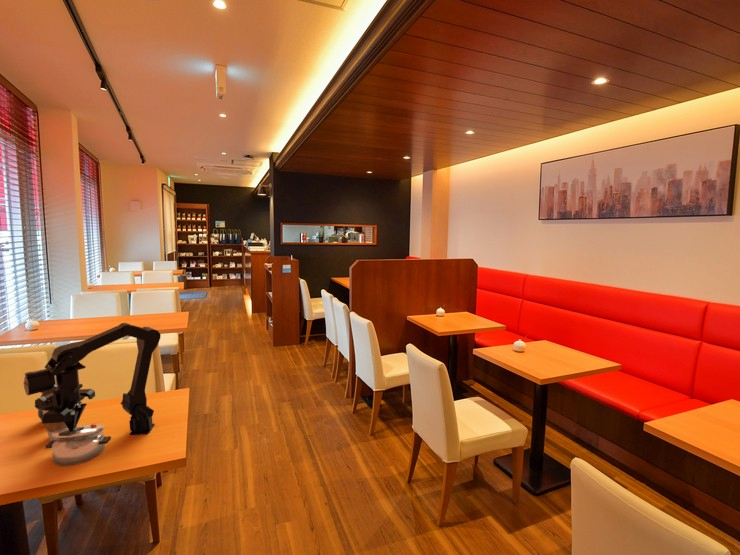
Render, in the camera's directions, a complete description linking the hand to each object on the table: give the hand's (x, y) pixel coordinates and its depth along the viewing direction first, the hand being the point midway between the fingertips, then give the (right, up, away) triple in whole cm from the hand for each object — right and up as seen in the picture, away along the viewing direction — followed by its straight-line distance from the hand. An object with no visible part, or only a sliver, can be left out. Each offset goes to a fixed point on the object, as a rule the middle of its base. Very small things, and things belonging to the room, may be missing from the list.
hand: (72, 429), depth 126 cm
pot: (0, -10, +4) cm, 10 cm away
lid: (0, -2, +3) cm, 4 cm away
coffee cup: (-15, -8, +14) cm, 22 cm away
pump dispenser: (-25, -6, +24) cm, 35 cm away
